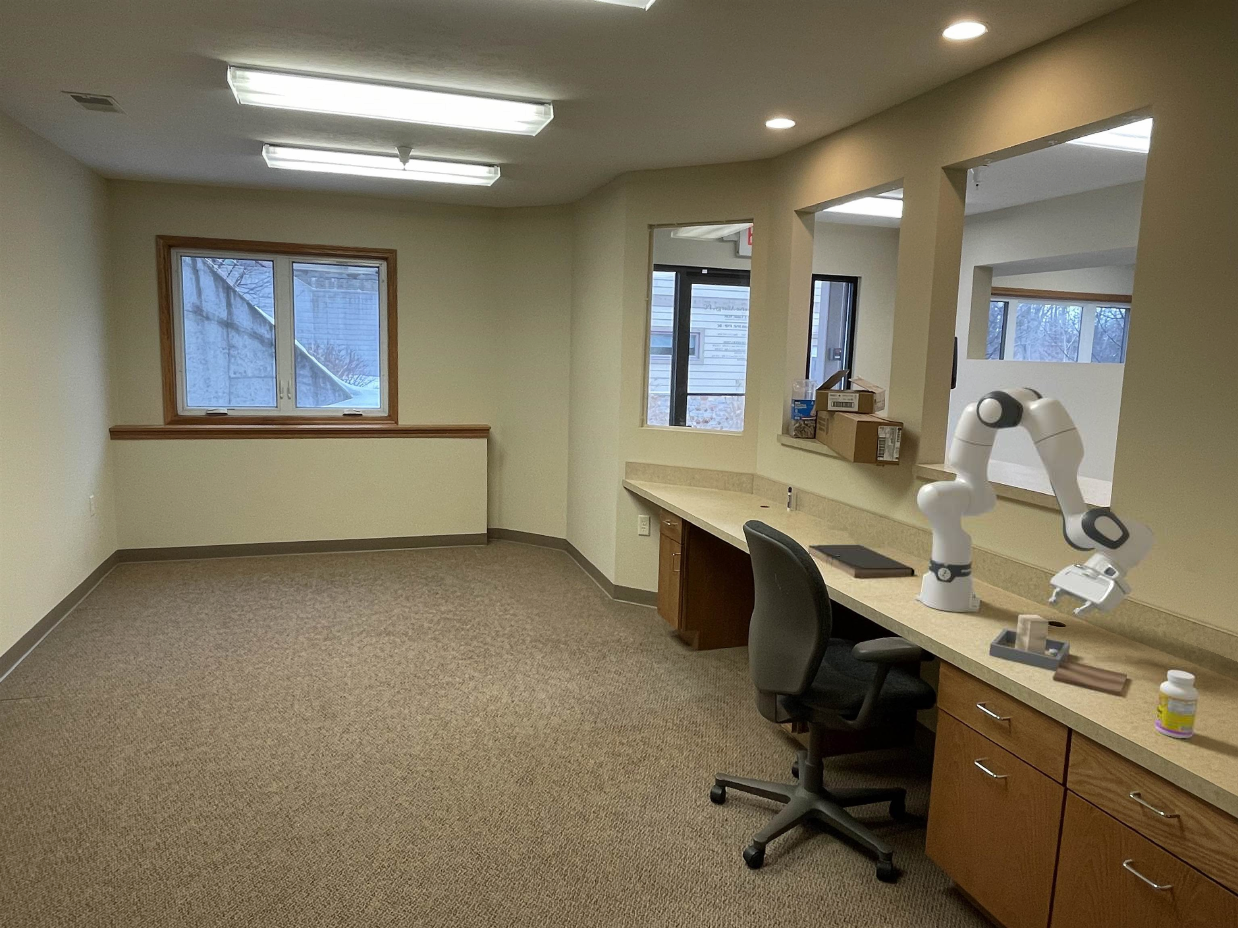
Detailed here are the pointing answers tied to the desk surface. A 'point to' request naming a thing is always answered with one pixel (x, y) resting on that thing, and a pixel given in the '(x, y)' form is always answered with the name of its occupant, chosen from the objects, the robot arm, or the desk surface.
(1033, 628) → the block
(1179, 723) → the supplement bottle
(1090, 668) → the walnut board
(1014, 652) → the parts tub
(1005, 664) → the desk surface
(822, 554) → the dark flat wooden case
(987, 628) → the desk surface
